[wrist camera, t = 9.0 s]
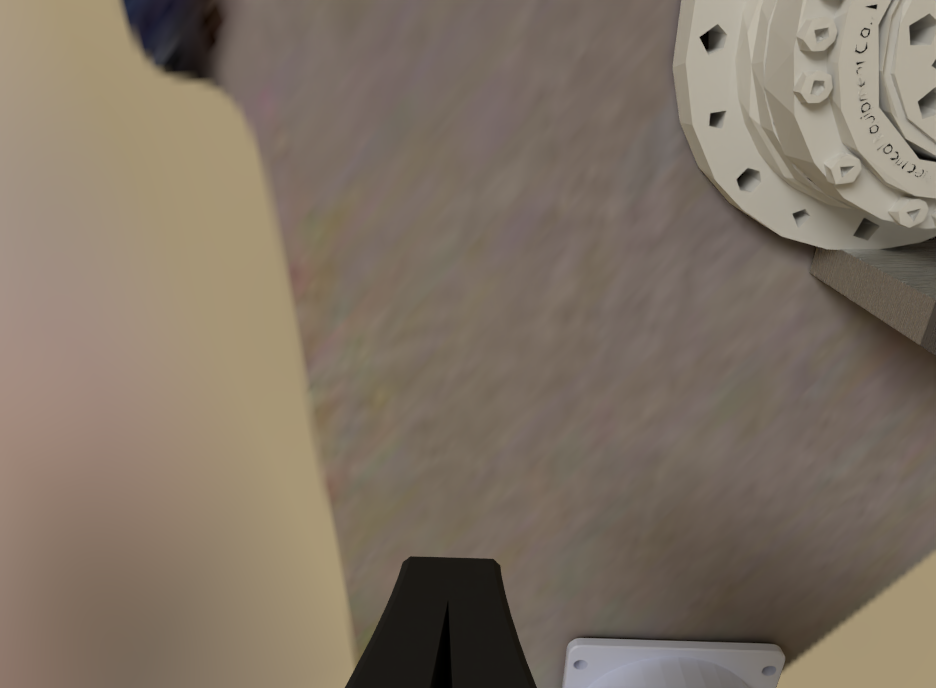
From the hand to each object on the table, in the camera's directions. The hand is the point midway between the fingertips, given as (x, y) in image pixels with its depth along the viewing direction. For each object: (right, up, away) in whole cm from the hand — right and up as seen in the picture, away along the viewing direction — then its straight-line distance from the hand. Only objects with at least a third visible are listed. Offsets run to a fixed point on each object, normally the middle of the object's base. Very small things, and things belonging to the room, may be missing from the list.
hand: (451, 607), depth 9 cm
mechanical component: (+10, +12, +6) cm, 16 cm away
